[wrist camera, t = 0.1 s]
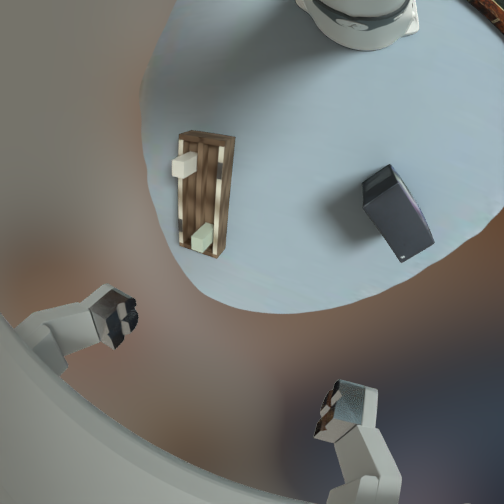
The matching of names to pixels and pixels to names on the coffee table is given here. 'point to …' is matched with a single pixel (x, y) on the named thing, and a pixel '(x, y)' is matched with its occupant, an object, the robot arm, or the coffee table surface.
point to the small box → (396, 214)
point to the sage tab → (202, 237)
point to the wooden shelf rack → (206, 188)
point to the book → (491, 11)
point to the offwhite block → (184, 165)
